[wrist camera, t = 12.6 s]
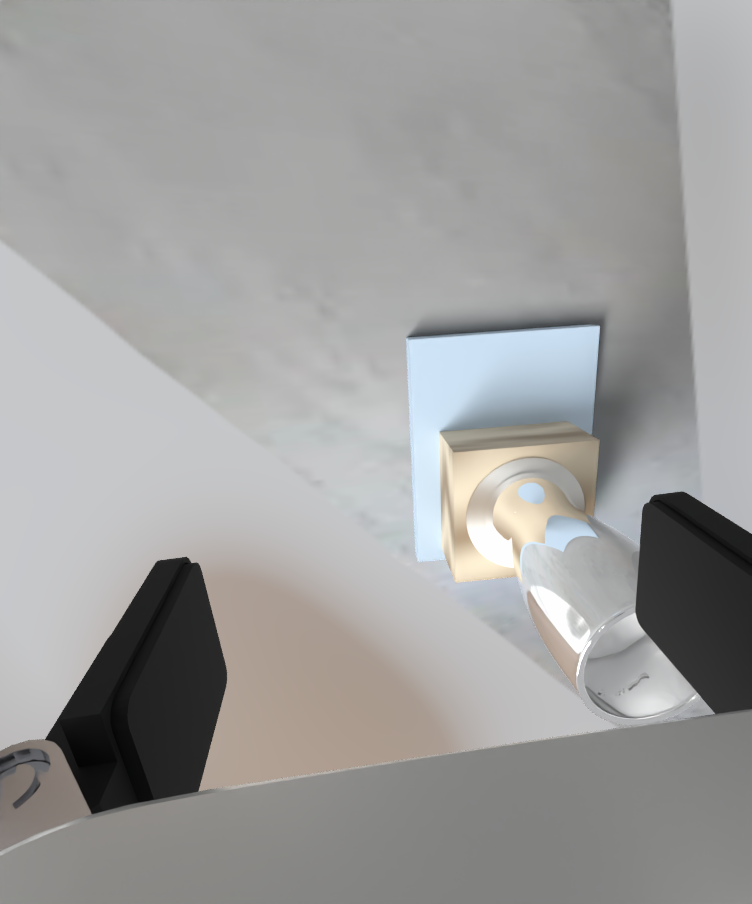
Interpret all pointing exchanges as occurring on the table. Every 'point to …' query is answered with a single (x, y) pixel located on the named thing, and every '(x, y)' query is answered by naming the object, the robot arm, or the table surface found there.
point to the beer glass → (585, 601)
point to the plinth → (487, 466)
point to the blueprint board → (490, 397)
